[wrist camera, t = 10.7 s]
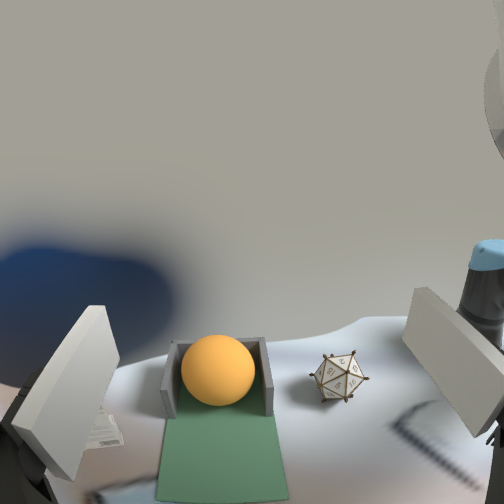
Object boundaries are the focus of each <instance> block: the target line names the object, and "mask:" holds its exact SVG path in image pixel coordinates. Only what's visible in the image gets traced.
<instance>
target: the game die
mask: <svg viewBox="0 0 504 504" xmlns="http://www.w3.org/2000/svg"><path fill="white" fill-rule="evenodd" d="M355 351H356V350H354V351H353V352H352V354H350V355H343V356H336V357H334V356H333V354H331V355H330V356H331V357H328V358H327V356H326V355H325V354H323V357H324V358H325V360H324V361H323V363H322V364H321V365H320V367H319V368H318V370H317V371H316V372H315V374H313V373H311V374H309V375H310V376H314V377H315V379H316V382H317V384H318V385H317V388H320V390H321V392H322V394H323V396H324V399H323V400H322V403H323V402H325V401H326V399H344V400H345V402H346V403H347V401H348V399H347V397H348V396H349V395H350V397H352V398H353V395H352V392H353V391H354V390H355V389H356V388H357V387H358V386H359V385H360V384H361V383H362V381H363V380H369V379H370V378H368V377H364V375H363V373H362V371H361V369H360V367H359V365H358V363H357V362H356V360H355V358H354V356H353V355H354V354H355V353H356V352H355Z"/></svg>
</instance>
